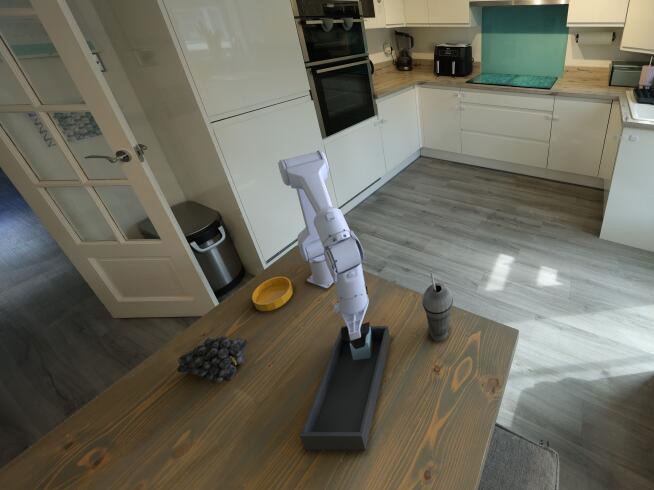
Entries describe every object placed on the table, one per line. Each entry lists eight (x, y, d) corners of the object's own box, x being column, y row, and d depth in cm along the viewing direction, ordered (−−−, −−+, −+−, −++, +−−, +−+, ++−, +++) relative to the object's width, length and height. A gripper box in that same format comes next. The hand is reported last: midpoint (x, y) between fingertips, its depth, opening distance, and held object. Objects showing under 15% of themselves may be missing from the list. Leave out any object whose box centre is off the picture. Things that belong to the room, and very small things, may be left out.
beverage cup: (449, 349, 75) (448, 289, 67) (420, 343, 76) (415, 284, 68) (456, 322, 81) (455, 264, 73) (429, 317, 83) (426, 260, 74)
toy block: (356, 343, 76) (352, 328, 73) (373, 341, 76) (370, 326, 74) (353, 360, 72) (349, 345, 70) (370, 357, 72) (368, 342, 70)
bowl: (276, 280, 93) (274, 273, 92) (300, 289, 90) (298, 282, 89) (247, 305, 85) (243, 298, 84) (272, 316, 82) (269, 309, 81)
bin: (345, 339, 77) (341, 325, 75) (390, 339, 77) (388, 326, 75) (305, 450, 58) (299, 436, 56) (365, 450, 58) (361, 436, 56)
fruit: (157, 350, 65) (225, 354, 64) (194, 324, 73) (254, 327, 72) (161, 388, 66) (228, 392, 65) (197, 358, 74) (257, 361, 73)
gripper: (332, 267, 70) (341, 308, 76) (328, 323, 58) (340, 368, 64) (364, 260, 72) (371, 301, 78) (367, 313, 60) (375, 357, 66)
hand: (359, 330), depth 71 cm, fingers open, 7 cm apart
